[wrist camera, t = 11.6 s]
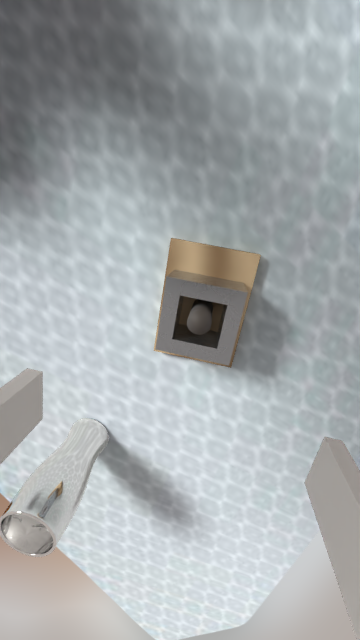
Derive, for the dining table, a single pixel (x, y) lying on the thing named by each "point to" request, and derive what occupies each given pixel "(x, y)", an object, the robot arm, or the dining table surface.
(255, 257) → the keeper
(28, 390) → the robot arm
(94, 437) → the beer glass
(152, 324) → the dining table surface
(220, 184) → the dining table surface
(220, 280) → the grey hollow square block
